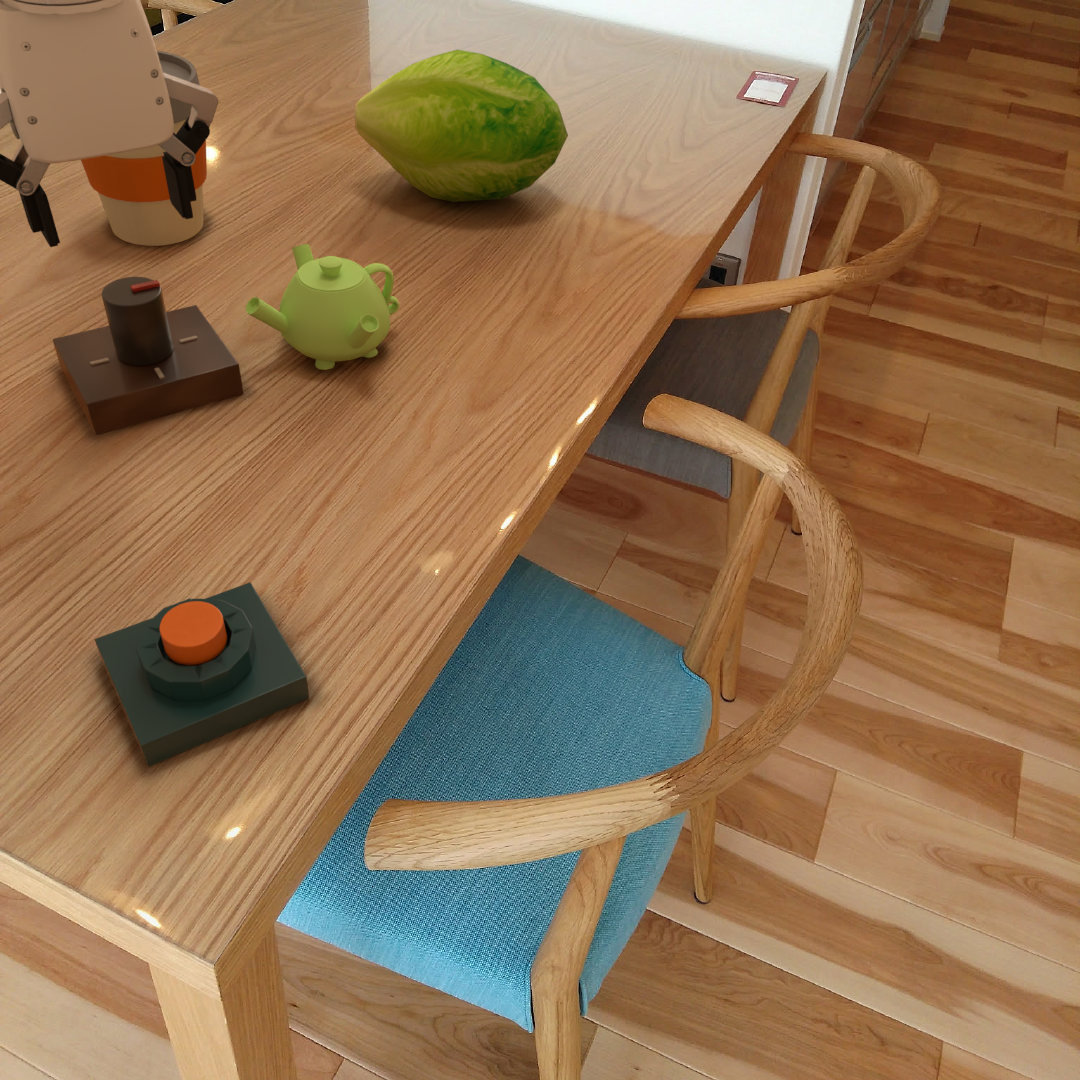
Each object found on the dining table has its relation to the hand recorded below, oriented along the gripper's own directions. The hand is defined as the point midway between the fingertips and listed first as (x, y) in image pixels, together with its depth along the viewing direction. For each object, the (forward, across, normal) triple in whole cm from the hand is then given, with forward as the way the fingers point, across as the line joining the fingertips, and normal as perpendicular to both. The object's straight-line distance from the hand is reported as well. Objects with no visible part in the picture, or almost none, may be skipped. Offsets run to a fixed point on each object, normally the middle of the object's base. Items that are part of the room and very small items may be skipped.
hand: (117, 224), depth 75 cm
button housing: (+14, +7, +32) cm, 36 cm away
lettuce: (+15, -41, -20) cm, 48 cm away
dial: (+11, 0, 0) cm, 11 cm away
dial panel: (+14, 0, 0) cm, 14 cm away
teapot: (+14, -15, +2) cm, 21 cm away
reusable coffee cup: (+14, -9, -26) cm, 31 cm away
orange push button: (+10, +7, +32) cm, 35 cm away
